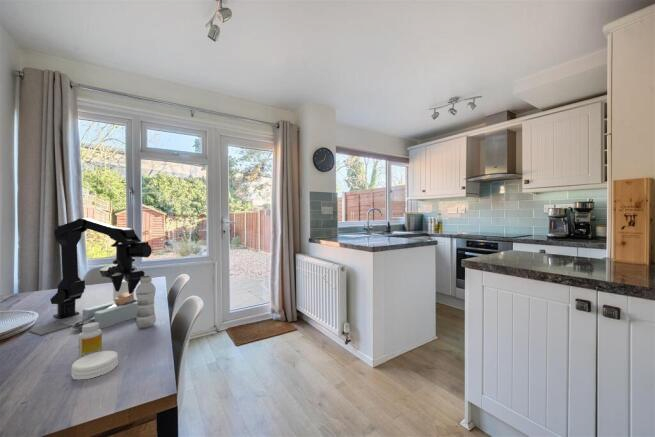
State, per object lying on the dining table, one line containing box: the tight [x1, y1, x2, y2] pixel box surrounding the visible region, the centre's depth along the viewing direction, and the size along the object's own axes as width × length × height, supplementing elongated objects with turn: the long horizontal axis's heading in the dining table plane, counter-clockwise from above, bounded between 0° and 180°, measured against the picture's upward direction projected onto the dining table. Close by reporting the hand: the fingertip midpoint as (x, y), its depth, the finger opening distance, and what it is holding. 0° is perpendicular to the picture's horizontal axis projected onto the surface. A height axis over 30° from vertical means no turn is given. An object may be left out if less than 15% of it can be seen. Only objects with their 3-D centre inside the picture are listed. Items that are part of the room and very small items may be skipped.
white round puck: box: [70, 350, 119, 380], centre depth 76 cm, size 10×10×4 cm
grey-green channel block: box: [81, 297, 138, 330], centre depth 113 cm, size 18×12×6 cm, turn 157°
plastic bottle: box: [135, 275, 157, 329], centre depth 105 cm, size 6×7×20 cm
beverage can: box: [112, 278, 135, 302], centre depth 132 cm, size 8×8×12 cm
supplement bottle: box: [78, 322, 103, 359], centre depth 84 cm, size 5×5×10 cm
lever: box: [71, 299, 134, 331], centre depth 110 cm, size 21×4×1 cm, turn 157°
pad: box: [28, 321, 73, 337], centre depth 103 cm, size 9×9×1 cm
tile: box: [114, 292, 135, 304], centre depth 116 cm, size 5×5×2 cm
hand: (124, 292), depth 116 cm, fingers open, 9 cm apart
